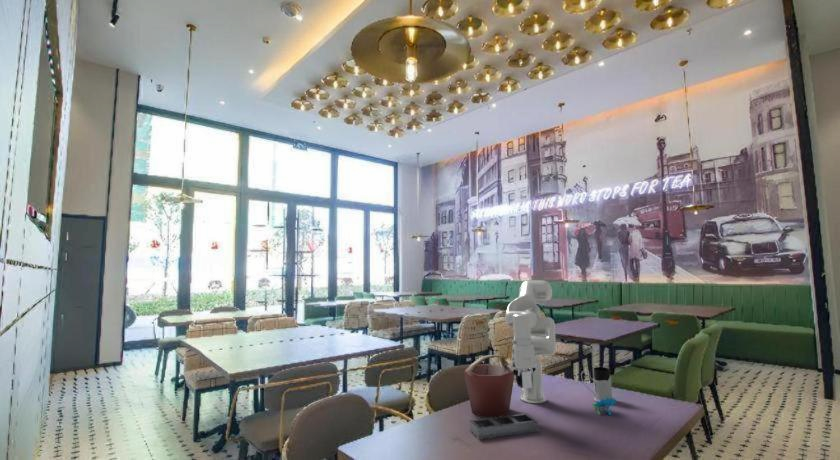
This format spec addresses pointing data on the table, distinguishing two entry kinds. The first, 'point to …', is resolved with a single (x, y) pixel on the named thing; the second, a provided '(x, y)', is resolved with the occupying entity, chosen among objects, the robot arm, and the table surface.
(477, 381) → the bucket
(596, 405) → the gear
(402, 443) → the table surface
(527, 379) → the white slotted box
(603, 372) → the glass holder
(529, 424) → the grey compartment tray
